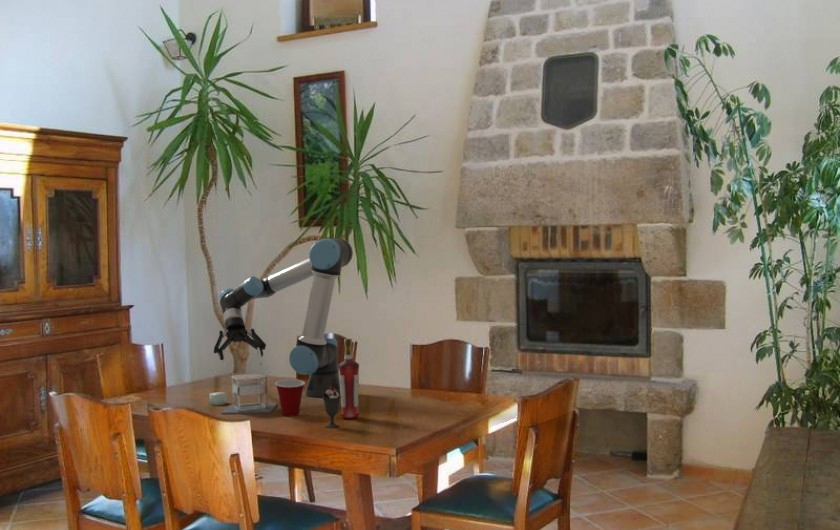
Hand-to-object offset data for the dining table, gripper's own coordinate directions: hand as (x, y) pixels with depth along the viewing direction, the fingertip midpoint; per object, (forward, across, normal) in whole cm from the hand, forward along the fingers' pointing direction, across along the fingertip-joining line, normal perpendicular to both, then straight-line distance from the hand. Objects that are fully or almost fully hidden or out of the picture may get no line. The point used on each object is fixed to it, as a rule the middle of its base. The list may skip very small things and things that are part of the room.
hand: (243, 364), depth 349 cm
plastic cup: (+31, -11, +8) cm, 33 cm away
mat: (+18, 0, -5) cm, 19 cm away
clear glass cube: (+18, 0, -4) cm, 18 cm away
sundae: (+50, -18, +27) cm, 60 cm away
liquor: (+42, -28, +19) cm, 54 cm away
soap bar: (+5, +9, -18) cm, 20 cm away
